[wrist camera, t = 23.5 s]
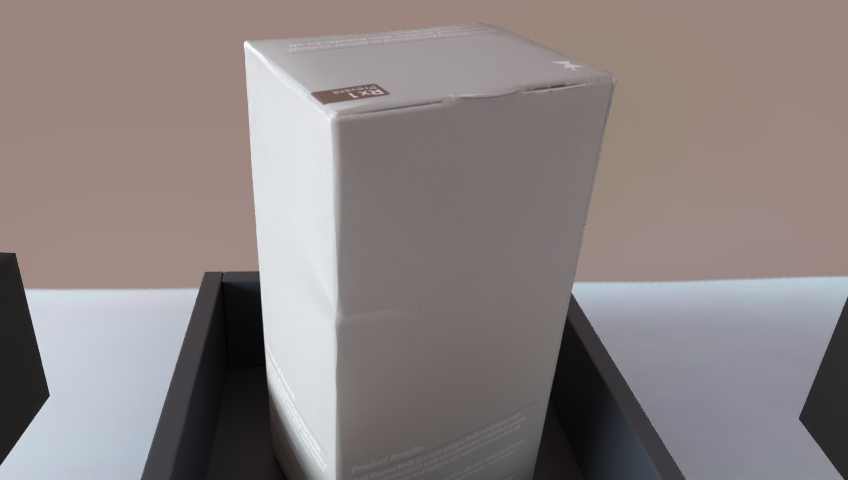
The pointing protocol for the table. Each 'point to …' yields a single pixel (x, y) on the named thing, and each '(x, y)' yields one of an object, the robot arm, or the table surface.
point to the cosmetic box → (417, 244)
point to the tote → (250, 417)
